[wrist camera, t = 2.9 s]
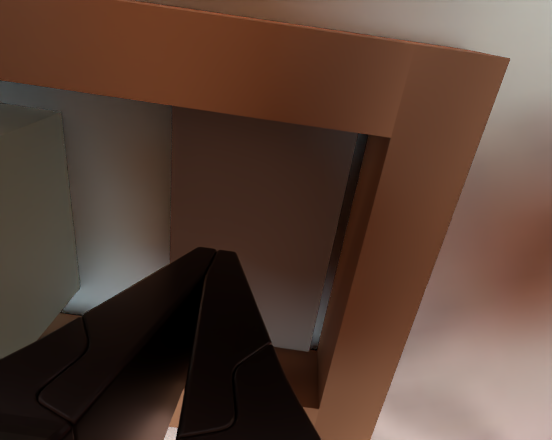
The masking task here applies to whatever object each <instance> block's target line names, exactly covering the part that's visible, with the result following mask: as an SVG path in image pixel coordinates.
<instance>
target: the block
mask: <svg viewBox="0 0 552 440" xmlns="http://www.w3.org/2000/svg"><path fill="white" fill-rule="evenodd" d="M79 289H80V281H79V271H78V262H77V253H76V244H75V234H74V225H73V216H72V207H71V197H70V188H69V179H68V170H67V160H66V151H65V142H64V133H63V123H62V114H61V112H58V111H51V110H44V109H38V108H31V107H24V106H17V105H10V104H4V103H0V359H2V358H4V357H5V356H7V355H9V354H11V353H13V352H15V351H17V350H19V349H21V348H23V347H25V346H27V345H29V344H31V343H33V342H35V341H37V340H38V338H39V337H40V336H41V335H42V333H43V332H44V331H45V330H46V329H47V327H48V326H49V325H50V324H51V323H52V321H53V320H54V319H55V318H56V317H57V315H58V314H59V313H60V312H61V311H62V309H63V308H64V307H65V306H66V305H67V303H68V302H69V301H70V300H71V298H72V297H73V296H74V295H75V294H76V292H77V291H78V290H79Z"/></svg>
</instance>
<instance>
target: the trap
mask: <svg viewBox="0 0 552 440" xmlns="http://www.w3.org/2000/svg"><path fill="white" fill-rule="evenodd" d="M357 137H358V133H355V132H348V131H341V130H334V129H327V128H321V127H314V126H307V125H300V124H294V123H287V122H280V121H273V120H266V119H260V118H253V117H246V116H239V115H233V114H226V113H219V112H212V111H206V110H199V109H192V108H185V107H178V106H172V160H171V227H170V263H171V262H173V261H175V260H176V259H178V258H180V257H182V256H183V255H185V254H187V253H188V252H190V251H192V250H193V249H195V248H197V247H207V248H214V249H216V250H217V251H218V250H227V251H234V252H236V253H237V255H238V258H239V260H240V263H241V265H242V268H243V270H244V273H245V275H246V278H247V281H248V283H249V286H250V288H251V291H252V293H253V296H254V298H255V301H256V303H257V306H258V309H259V311H260V314H261V316H262V319H263V321H264V324H265V326H266V329H267V331H268V334H269V337H270V339H271V342H272V345H273V346H274V347H279V348H286V349H292V350H299V351H306V352H309V349H310V344H311V340H312V335H313V331H314V327H315V322H316V318H317V313H318V309H319V305H320V300H321V296H322V291H323V287H324V283H325V278H326V274H327V269H328V265H329V260H330V256H331V252H332V247H333V243H334V238H335V234H336V230H337V225H338V221H339V216H340V212H341V207H342V203H343V199H344V194H345V190H346V185H347V181H348V177H349V172H350V168H351V163H352V159H353V155H354V150H355V146H356V141H357Z"/></svg>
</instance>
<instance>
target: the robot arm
mask: <svg viewBox="0 0 552 440" xmlns="http://www.w3.org/2000/svg"><path fill="white" fill-rule="evenodd" d="M184 386H185V390H184V395H183V401H182V407H181V413H180V418H179V424H178V430H177V436H176V440H322V439H321V437H320V436H319V434H318V432H317V431H316V429H315V427H314V425H313V424H312V422H311V420H310V419H309V417H308V415H307V413H306V412H305V410H304V408H303V407H302V405H301V403H300V401H299V400H298V398H297V396H296V394H295V392H294V390H293V388H292V387H291V385H290V383H289V381H288V379H287V377H286V375H285V372H284V370H283V368H282V366H281V363H280V361H279V359H278V356H277V354H276V351H275V349H274V346H273V345H272V342H271V339H270V337H269V334H268V331H267V329H266V326H265V324H264V321H263V319H262V316H261V314H260V311H259V309H258V306H257V303H256V301H255V298H254V296H253V293H252V291H251V288H250V286H249V283H248V281H247V278H246V275H245V273H244V270H243V268H242V265H241V263H240V260H239V258H238V255H237V253H236V252H234V251H227V250H218V251H217V250H216V249H214V248H207V247H197V248H195V249H193V250H192V251H190V252H188V253H187V254H185V255H183V256H182V257H180V258H178V259H176V260H175V261H173V262H171V263H170V264H168V265H166V266H165V267H163V268H161V269H159V270H158V271H156V272H154V273H153V274H151V275H149V276H147V277H146V278H144V279H142V280H141V281H139V282H137V283H136V284H134V285H132V286H130V287H129V288H127V289H125V290H124V291H122V292H120V293H119V294H117V295H115V296H113V297H112V298H110V299H108V300H107V301H105V302H103V303H102V304H100V305H98V306H96V307H95V308H93V309H91V310H90V311H88V312H86V313H85V314H83V315H82V317H77V318H76V319H74V320H72V321H71V322H69V323H67V324H65V325H64V326H62V327H60V328H58V329H57V330H55V331H53V332H51V333H49V334H48V335H46V336H44V337H42V338H41V339H39V340H37V341H35V342H33V343H31V344H29V345H27V346H25V347H23V348H21V349H19V350H17V351H15V352H13V353H11V354H9V355H7V356H5V357H4V358H2V359H0V440H164V437H165V435H166V432H167V430H168V427H169V424H170V422H171V419H172V417H173V414H174V412H175V409H176V407H177V404H178V401H179V399H180V396H181V394H182V391H183V389H184Z"/></svg>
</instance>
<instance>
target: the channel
mask: <svg viewBox="0 0 552 440" xmlns="http://www.w3.org/2000/svg"><path fill="white" fill-rule="evenodd" d="M509 61H510V58H505V57H500V56H495V55H490V54H485V53H480V52H476V51H471V50H466V49H459V48H452V47H445V46H439V45H432V44H425V43H418V42H412V41H405V40H398V39H391V38H385V37H378V36H371V35H364V34H357V33H351V32H344V31H337V30H330V29H324V28H317V27H310V26H303V25H297V24H290V23H283V22H276V21H269V20H263V19H256V18H249V17H242V16H236V15H229V14H222V13H215V12H208V11H202V10H195V9H188V8H181V7H175V6H168V5H161V4H154V3H148V2H141V1H134V0H0V80H2V81H9V82H16V83H23V84H29V85H36V86H43V87H50V88H56V89H63V90H70V91H77V92H84V93H90V94H97V95H104V96H111V97H117V98H124V99H131V100H138V101H145V102H151V103H158V104H165V105H172V106H178V107H185V108H192V109H199V110H206V111H212V112H219V113H226V114H233V115H239V116H246V117H253V118H260V119H266V120H273V121H280V122H287V123H294V124H300V125H307V126H314V127H321V128H327V129H334V130H341V131H348V132H355V133H361V134H368V140H367V144H366V148H365V152H364V156H363V160H362V165H361V169H360V173H359V177H358V181H357V186H356V190H355V194H354V198H353V202H352V207H351V211H350V215H349V219H348V223H347V228H346V232H345V236H344V240H343V244H342V248H341V253H340V257H339V261H338V265H337V269H336V274H335V278H334V282H333V286H332V290H331V295H330V299H329V303H328V307H327V311H326V315H325V320H324V324H323V328H322V332H321V336H320V341H319V345H318V349H317V351H314V350H309V352H306V351H299V350H292V349H286V348H279V347H274V349H275V351H276V354H277V356H278V359H279V361H280V363H281V366H282V368H283V370H284V372H285V375H286V377H287V379H288V381H289V383H290V385H291V387H292V388H293V390H294V392H295V394H296V396H297V398H298V400H299V401H300V403H301V405H302V407H303V408H304V410H305V412H306V413H307V415H308V417H309V419H310V420H311V422H312V424H313V425H314V427H315V429H316V431H317V432H318V434H319V436H320V437H321V439H322V440H370V439H371V436H372V433H373V431H374V428H375V425H376V422H377V420H378V417H379V414H380V411H381V409H382V406H383V403H384V401H385V398H386V395H387V392H388V390H389V387H390V384H391V382H392V379H393V376H394V373H395V371H396V368H397V365H398V363H399V360H400V357H401V354H402V352H403V349H404V346H405V344H406V341H407V338H408V335H409V333H410V330H411V327H412V325H413V322H414V319H415V316H416V314H417V311H418V308H419V305H420V303H421V300H422V297H423V295H424V292H425V289H426V286H427V284H428V281H429V278H430V276H431V273H432V270H433V267H434V265H435V262H436V259H437V257H438V254H439V251H440V248H441V246H442V243H443V240H444V238H445V235H446V232H447V229H448V227H449V224H450V221H451V219H452V216H453V213H454V210H455V208H456V205H457V202H458V200H459V197H460V194H461V191H462V189H463V186H464V183H465V180H466V178H467V175H468V172H469V170H470V167H471V164H472V161H473V159H474V156H475V153H476V151H477V148H478V145H479V142H480V140H481V137H482V134H483V132H484V129H485V126H486V123H487V121H488V118H489V115H490V113H491V110H492V107H493V104H494V102H495V99H496V96H497V94H498V91H499V88H500V85H501V83H502V80H503V77H504V74H505V72H506V69H507V66H508V64H509ZM77 317H82V316H77V315H70V314H64V313H59V314H58V315H57V317H56V318H55V319H54V320H53V321H52V323H51V324H50V325H49V326H48V327H47V329H46V330H45V331H44V332H43V333H42V335H41V336H40V337H39V338H38V340H39V339H41V338H42V337H44V336H46V335H48V334H49V333H51V332H53V331H55V330H57V329H58V328H60V327H62V326H64V325H65V324H67V323H69V322H71V321H72V320H74V319H76V318H77ZM184 390H185V386H184V389H183V391H182V394H181V396H180V399H179V401H178V404H177V407H176V409H175V412H174V414H173V417H172V419H171V422H170V424H169V426H170V427H177V428H178V424H179V418H180V413H181V407H182V401H183V395H184Z"/></svg>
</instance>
